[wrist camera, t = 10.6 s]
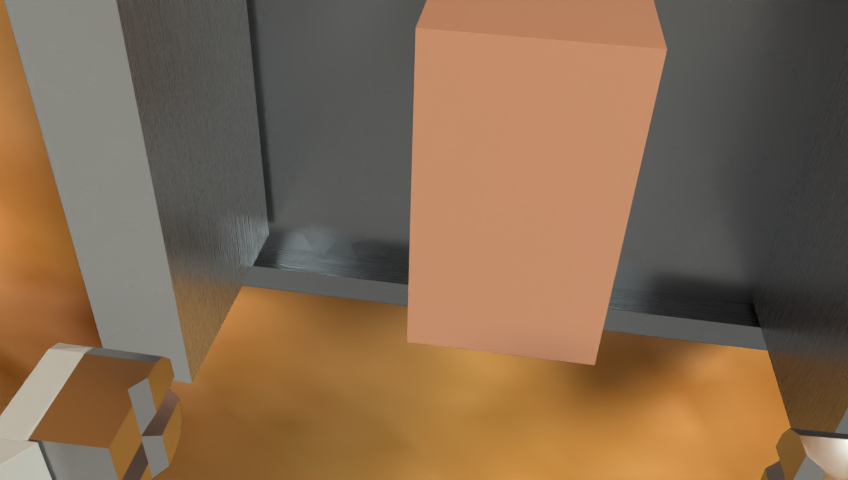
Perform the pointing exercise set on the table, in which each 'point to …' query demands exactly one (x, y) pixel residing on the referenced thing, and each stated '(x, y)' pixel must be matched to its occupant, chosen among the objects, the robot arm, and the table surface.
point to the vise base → (654, 193)
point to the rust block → (525, 169)
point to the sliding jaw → (151, 160)
